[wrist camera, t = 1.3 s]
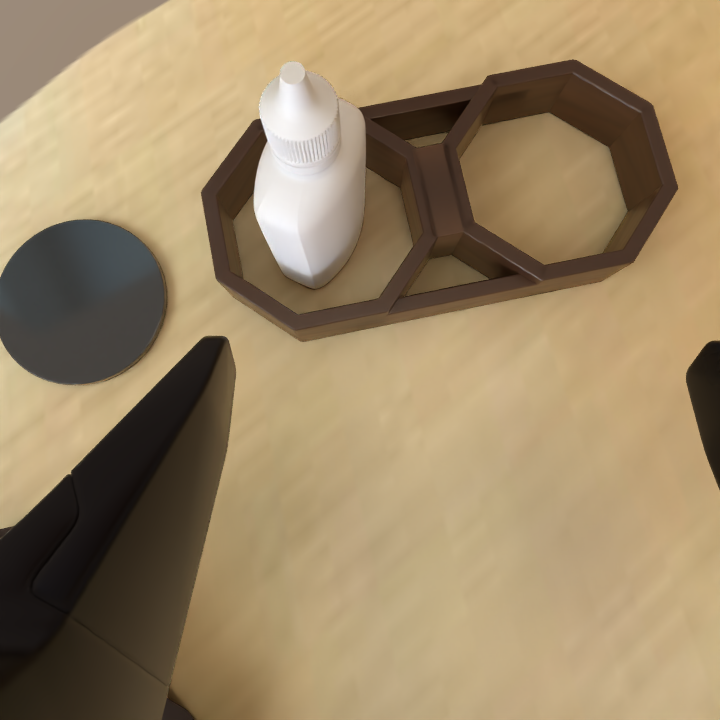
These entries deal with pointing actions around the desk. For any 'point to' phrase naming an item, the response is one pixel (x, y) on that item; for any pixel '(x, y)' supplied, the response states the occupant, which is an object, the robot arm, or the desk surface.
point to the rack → (462, 195)
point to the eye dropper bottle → (310, 176)
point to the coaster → (81, 302)
